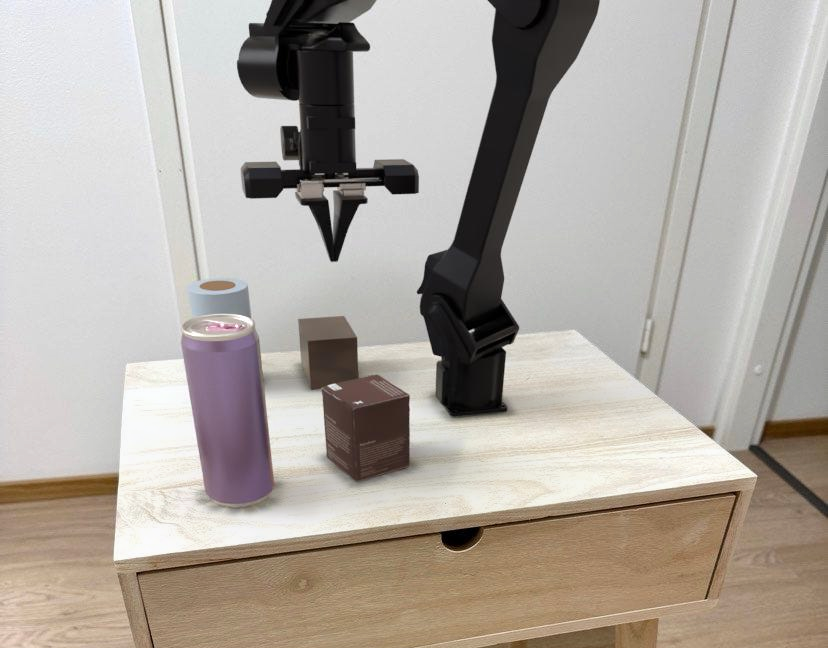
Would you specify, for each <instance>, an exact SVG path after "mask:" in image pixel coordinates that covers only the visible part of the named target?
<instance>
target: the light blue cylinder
mask: <svg viewBox="0 0 828 648" xmlns="http://www.w3.org/2000/svg"><path fill="white" fill-rule="evenodd" d="M186 290H187V296H188V304H189V309H190V316H191V319H192V318H195V317H199V316H204V315H210V314H237V315H242V316H246V317H249V318H251V319H252V311H251V303H250V302H251V301H250V291H249V284H248V283H247V282H246V281H244V280H242V279H238V278H231V277H211V278H205V279H200V280H195V281H193V282H191V283H189V284H188V285H187V287H186Z"/></svg>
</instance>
